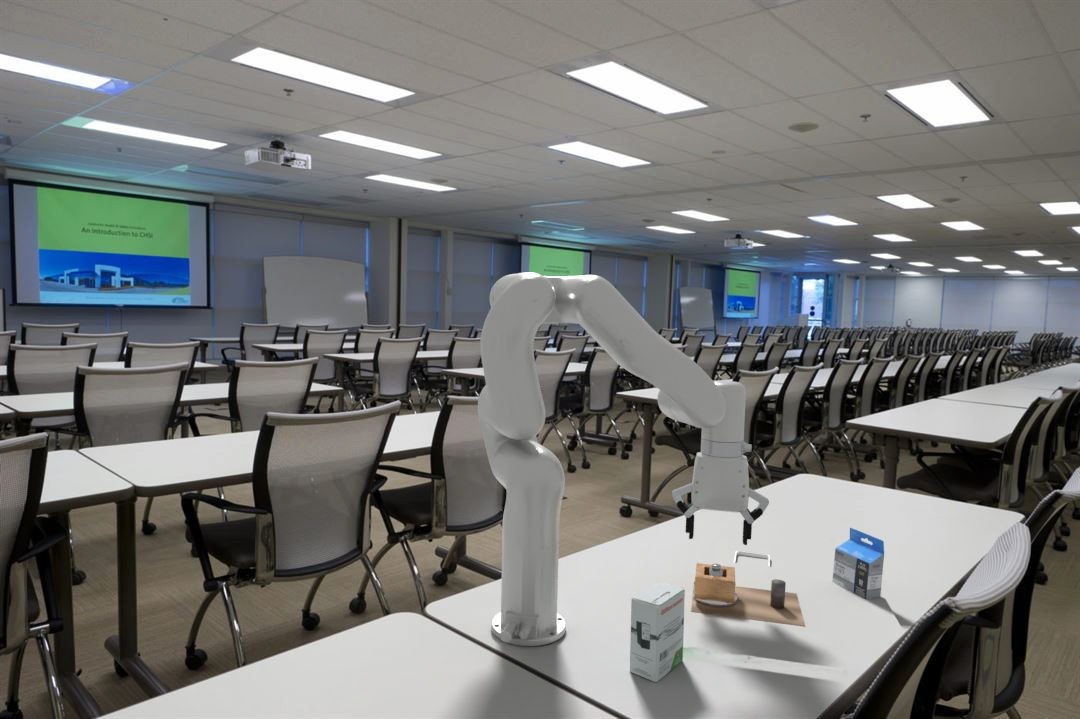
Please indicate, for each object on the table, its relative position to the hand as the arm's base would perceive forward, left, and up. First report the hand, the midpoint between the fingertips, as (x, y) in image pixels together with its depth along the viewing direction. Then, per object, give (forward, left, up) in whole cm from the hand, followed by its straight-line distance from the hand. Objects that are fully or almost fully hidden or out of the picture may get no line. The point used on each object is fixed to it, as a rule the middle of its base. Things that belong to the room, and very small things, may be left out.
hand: (717, 539), depth 130 cm
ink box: (-26, +9, -13) cm, 30 cm away
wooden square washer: (-1, 0, -10) cm, 10 cm away
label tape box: (+12, -26, -13) cm, 32 cm away
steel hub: (-1, 0, -11) cm, 11 cm away
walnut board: (-1, -5, -12) cm, 13 cm away
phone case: (+21, -7, -13) cm, 26 cm away
